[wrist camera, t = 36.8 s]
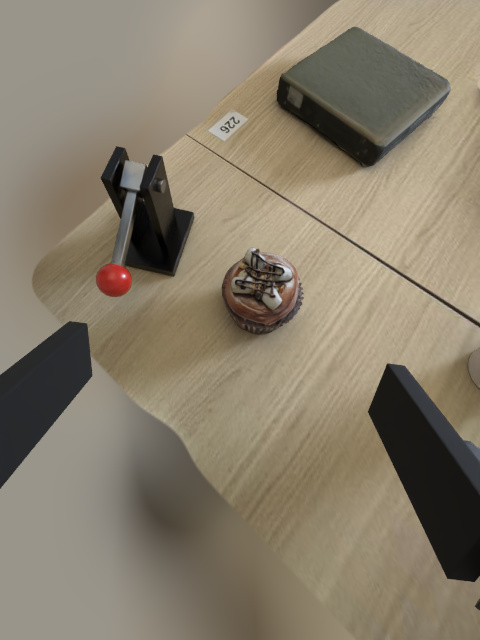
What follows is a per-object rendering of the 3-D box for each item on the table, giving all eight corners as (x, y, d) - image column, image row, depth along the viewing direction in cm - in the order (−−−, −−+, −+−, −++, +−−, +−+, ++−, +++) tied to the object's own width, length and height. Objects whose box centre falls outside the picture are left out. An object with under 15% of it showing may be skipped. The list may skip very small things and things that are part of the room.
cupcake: (287, 349, 39) (307, 323, 29) (213, 330, 39) (210, 298, 30) (300, 283, 42) (323, 241, 33) (232, 266, 42) (235, 220, 33)
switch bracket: (174, 276, 41) (154, 214, 29) (117, 263, 42) (74, 196, 30) (194, 217, 45) (184, 140, 33) (141, 205, 45) (112, 124, 33)
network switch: (334, 48, 60) (343, 15, 55) (442, 104, 56) (462, 74, 51) (265, 112, 53) (269, 81, 48) (384, 181, 49) (401, 155, 44)
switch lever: (132, 301, 35) (119, 299, 31) (102, 293, 35) (85, 291, 31) (160, 178, 34) (150, 162, 31) (129, 171, 35) (116, 155, 31)
